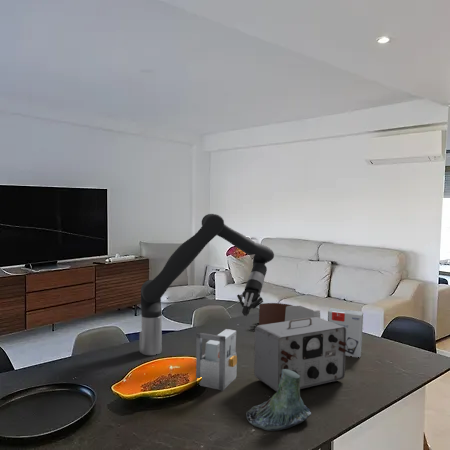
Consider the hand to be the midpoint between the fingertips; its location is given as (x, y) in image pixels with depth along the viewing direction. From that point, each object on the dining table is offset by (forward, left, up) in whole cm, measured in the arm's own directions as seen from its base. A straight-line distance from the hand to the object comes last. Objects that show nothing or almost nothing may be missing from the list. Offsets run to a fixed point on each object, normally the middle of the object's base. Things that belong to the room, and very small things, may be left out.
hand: (244, 314), depth 192 cm
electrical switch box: (+19, +32, -20) cm, 42 cm away
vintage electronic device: (+30, -15, -20) cm, 39 cm away
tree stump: (+30, -45, -20) cm, 57 cm away
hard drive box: (+40, +26, -20) cm, 52 cm away
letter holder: (-2, +55, -20) cm, 58 cm away
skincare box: (-2, -22, -20) cm, 29 cm away
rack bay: (0, -28, -19) cm, 34 cm away
